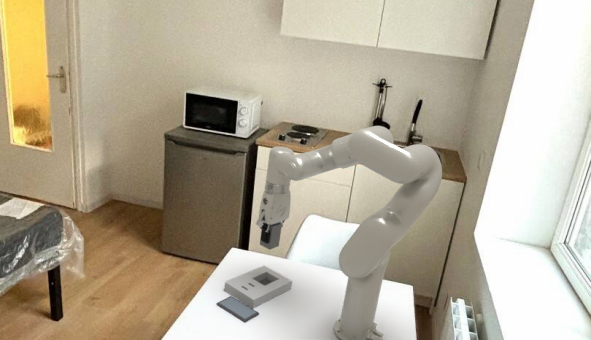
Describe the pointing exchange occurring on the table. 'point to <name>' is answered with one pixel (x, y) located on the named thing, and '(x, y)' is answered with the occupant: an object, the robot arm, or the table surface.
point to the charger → (273, 236)
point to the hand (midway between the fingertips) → (270, 239)
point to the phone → (238, 309)
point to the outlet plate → (257, 286)
